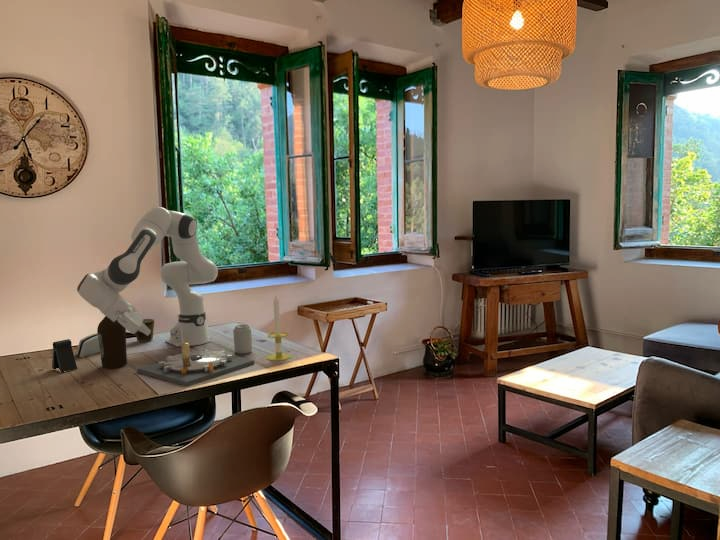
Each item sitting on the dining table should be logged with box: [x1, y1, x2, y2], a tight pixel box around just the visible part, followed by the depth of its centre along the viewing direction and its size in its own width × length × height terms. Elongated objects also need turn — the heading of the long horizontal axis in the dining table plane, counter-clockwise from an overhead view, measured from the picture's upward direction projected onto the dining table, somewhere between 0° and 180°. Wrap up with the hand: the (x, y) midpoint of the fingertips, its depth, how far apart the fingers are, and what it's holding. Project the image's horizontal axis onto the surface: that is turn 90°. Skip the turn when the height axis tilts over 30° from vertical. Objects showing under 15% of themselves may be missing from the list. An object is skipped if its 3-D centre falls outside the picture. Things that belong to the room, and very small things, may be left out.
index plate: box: [136, 349, 255, 387], centre depth 218 cm, size 32×32×6 cm
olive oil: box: [96, 315, 128, 370], centre depth 224 cm, size 11×11×25 cm
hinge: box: [74, 332, 100, 358], centre depth 248 cm, size 17×5×10 cm, turn 153°
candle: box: [266, 295, 292, 362], centre depth 228 cm, size 10×10×27 cm
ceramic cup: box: [134, 318, 155, 343], centre depth 266 cm, size 13×10×10 cm
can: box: [233, 323, 253, 355], centre depth 239 cm, size 8×8×12 cm
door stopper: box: [51, 339, 78, 372], centre depth 222 cm, size 9×6×12 cm, turn 52°
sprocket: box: [158, 342, 233, 374], centre depth 217 cm, size 27×28×11 cm
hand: (149, 333), depth 202 cm, fingers closed
